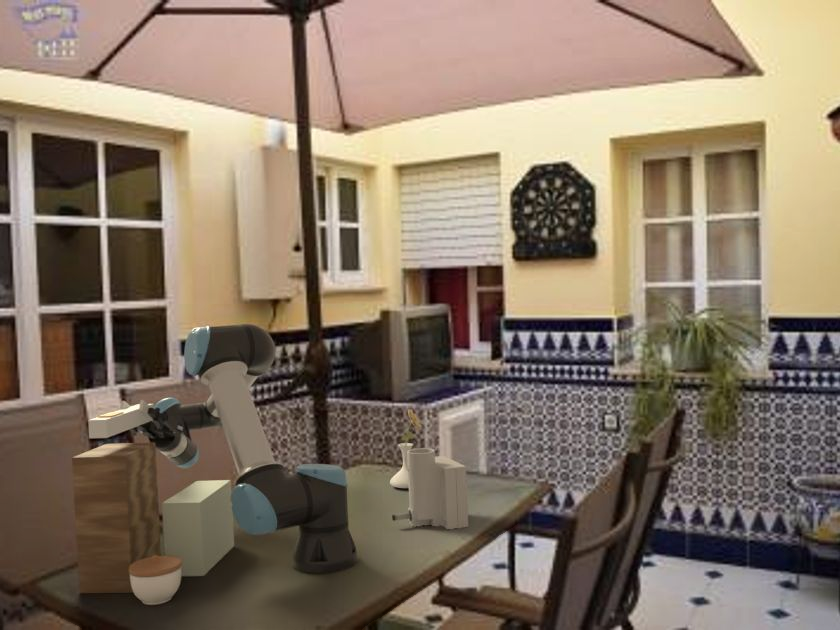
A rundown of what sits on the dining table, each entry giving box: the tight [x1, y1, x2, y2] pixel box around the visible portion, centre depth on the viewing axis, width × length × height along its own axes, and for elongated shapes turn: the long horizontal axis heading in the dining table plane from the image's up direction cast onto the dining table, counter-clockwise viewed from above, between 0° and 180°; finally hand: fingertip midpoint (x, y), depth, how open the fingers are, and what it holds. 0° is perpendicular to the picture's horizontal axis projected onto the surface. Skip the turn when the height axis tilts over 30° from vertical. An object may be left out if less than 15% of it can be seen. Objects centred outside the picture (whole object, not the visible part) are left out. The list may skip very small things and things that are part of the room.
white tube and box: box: [391, 447, 469, 530], centre depth 221 cm, size 16×19×20 cm
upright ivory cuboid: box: [161, 479, 235, 577], centre depth 198 cm, size 22×9×17 cm, turn 175°
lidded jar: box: [129, 555, 182, 606], centre depth 173 cm, size 11×11×9 cm
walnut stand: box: [71, 442, 162, 594], centre depth 186 cm, size 16×13×30 cm
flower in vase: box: [389, 408, 423, 489], centre depth 265 cm, size 13×11×25 cm
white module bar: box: [87, 403, 155, 439], centre depth 190 cm, size 25×4×4 cm, turn 175°
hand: (131, 405), depth 195 cm, fingers closed on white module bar, 4 cm apart
